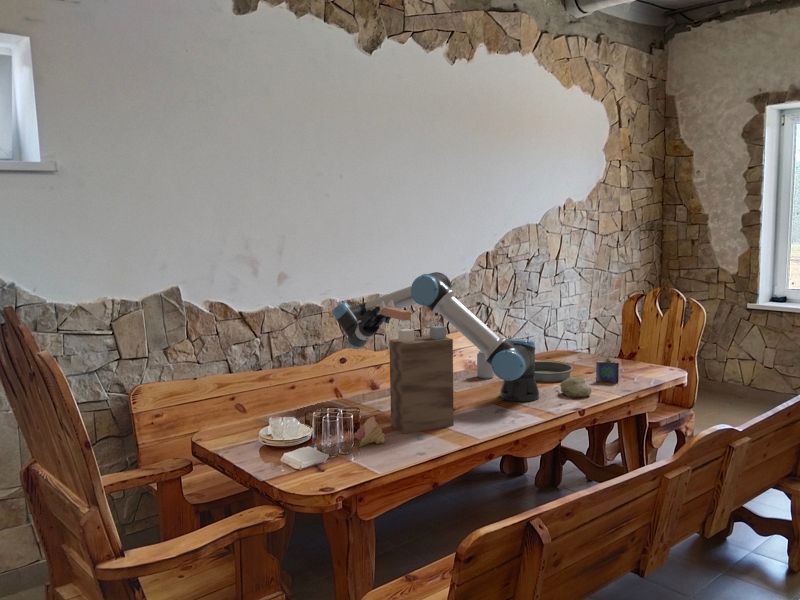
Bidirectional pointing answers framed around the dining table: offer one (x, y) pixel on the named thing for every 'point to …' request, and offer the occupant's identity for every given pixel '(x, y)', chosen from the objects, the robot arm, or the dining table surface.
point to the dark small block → (607, 371)
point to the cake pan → (551, 371)
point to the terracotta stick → (396, 313)
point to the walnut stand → (421, 384)
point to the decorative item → (575, 387)
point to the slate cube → (437, 332)
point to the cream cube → (406, 335)
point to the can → (483, 367)
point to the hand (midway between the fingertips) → (388, 304)
